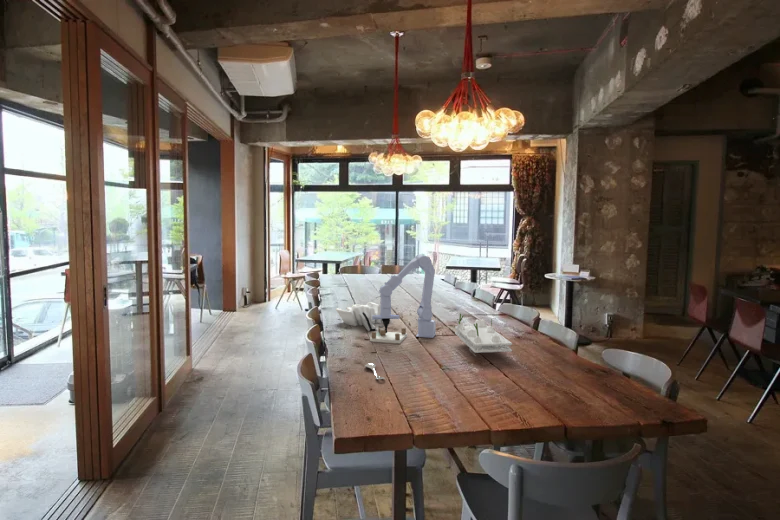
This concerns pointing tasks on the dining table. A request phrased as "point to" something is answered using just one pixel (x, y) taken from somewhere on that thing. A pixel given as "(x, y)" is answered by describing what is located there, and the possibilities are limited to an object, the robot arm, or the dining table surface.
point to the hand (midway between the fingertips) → (386, 332)
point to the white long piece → (372, 366)
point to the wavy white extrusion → (353, 313)
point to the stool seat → (389, 337)
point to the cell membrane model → (482, 337)
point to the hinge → (367, 321)
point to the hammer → (381, 330)
